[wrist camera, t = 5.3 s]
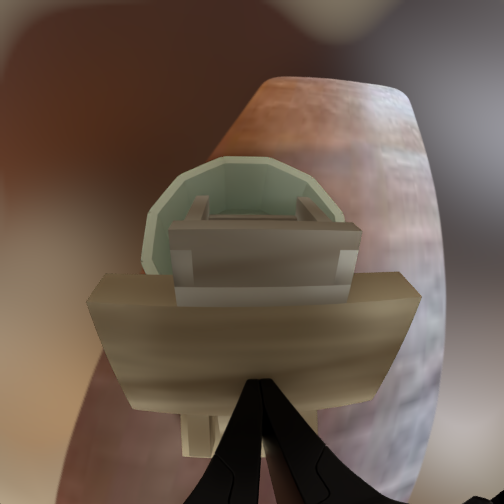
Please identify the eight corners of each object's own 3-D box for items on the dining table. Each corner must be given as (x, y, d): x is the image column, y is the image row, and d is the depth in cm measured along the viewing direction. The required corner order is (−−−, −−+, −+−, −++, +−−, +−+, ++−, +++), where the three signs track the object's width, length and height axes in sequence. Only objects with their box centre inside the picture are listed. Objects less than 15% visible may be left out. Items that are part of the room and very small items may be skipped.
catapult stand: (306, 441, 15) (336, 468, 10) (188, 445, 15) (170, 476, 9) (305, 375, 17) (335, 377, 12) (186, 378, 17) (165, 382, 11)
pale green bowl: (325, 347, 18) (362, 337, 13) (163, 349, 17) (134, 341, 12) (310, 208, 23) (331, 161, 17) (174, 207, 22) (159, 158, 16)
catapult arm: (347, 436, 11) (441, 234, 6) (153, 444, 11) (67, 231, 6) (326, 371, 16) (369, 189, 11) (165, 374, 15) (130, 186, 10)
